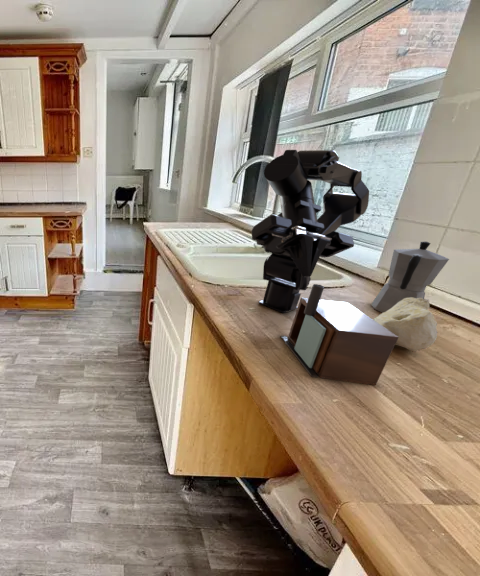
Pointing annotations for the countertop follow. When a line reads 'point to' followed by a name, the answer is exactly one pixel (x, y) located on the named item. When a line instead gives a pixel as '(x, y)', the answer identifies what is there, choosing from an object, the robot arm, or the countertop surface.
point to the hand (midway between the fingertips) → (306, 276)
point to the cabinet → (345, 343)
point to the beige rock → (410, 323)
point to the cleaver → (310, 329)
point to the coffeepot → (409, 275)
